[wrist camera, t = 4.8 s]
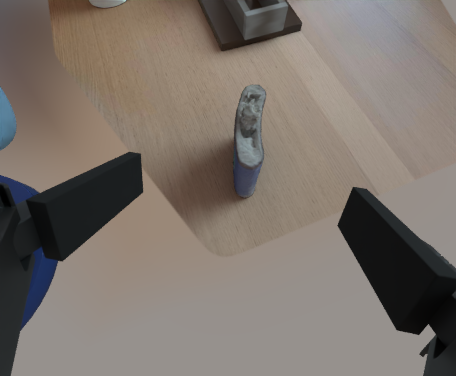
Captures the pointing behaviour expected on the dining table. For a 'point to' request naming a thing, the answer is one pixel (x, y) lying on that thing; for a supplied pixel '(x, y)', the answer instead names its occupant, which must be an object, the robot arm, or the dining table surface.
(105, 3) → the cup
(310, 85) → the dining table surface
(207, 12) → the brown board with holder
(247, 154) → the flask
